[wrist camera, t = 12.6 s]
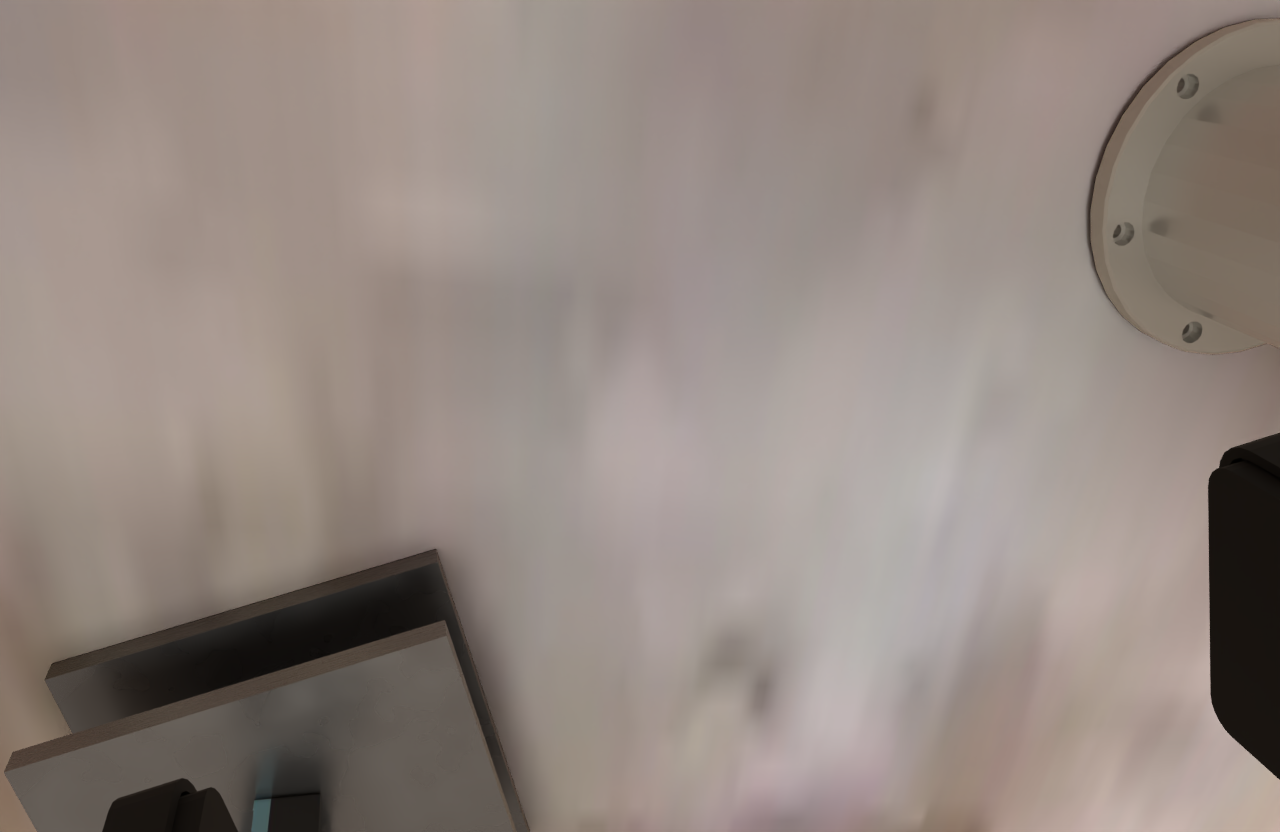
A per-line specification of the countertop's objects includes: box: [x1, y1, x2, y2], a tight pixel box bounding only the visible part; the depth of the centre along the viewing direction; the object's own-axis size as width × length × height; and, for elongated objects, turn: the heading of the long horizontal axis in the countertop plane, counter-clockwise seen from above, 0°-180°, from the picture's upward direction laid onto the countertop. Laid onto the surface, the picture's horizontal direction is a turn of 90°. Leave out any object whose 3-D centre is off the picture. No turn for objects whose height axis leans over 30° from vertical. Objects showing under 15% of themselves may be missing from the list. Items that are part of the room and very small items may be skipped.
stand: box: [4, 549, 530, 832], centre depth 42 cm, size 14×14×6 cm
